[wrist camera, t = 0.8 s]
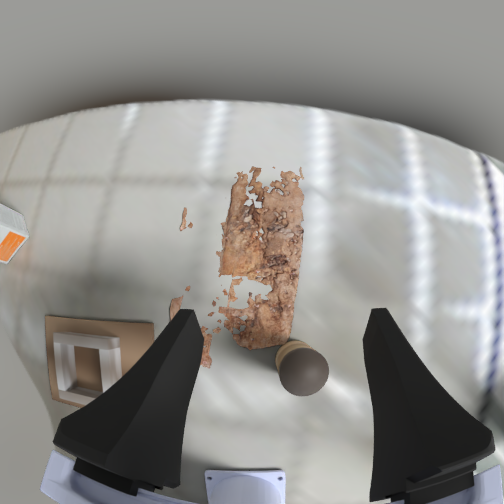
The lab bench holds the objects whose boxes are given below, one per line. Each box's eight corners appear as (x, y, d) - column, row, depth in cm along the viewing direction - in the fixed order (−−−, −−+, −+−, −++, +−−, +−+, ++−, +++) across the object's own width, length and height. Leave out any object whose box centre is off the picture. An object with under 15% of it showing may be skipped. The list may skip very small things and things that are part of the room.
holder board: (160, 420, 23) (150, 431, 20) (55, 398, 23) (40, 403, 20) (153, 323, 25) (140, 324, 22) (48, 315, 25) (31, 315, 22)
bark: (293, 372, 24) (294, 373, 23) (169, 361, 24) (167, 362, 24) (299, 154, 29) (300, 151, 28) (192, 151, 29) (191, 148, 29)
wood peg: (313, 375, 24) (328, 393, 18) (275, 378, 24) (280, 398, 18) (313, 339, 24) (328, 347, 19) (274, 341, 25) (278, 351, 19)
